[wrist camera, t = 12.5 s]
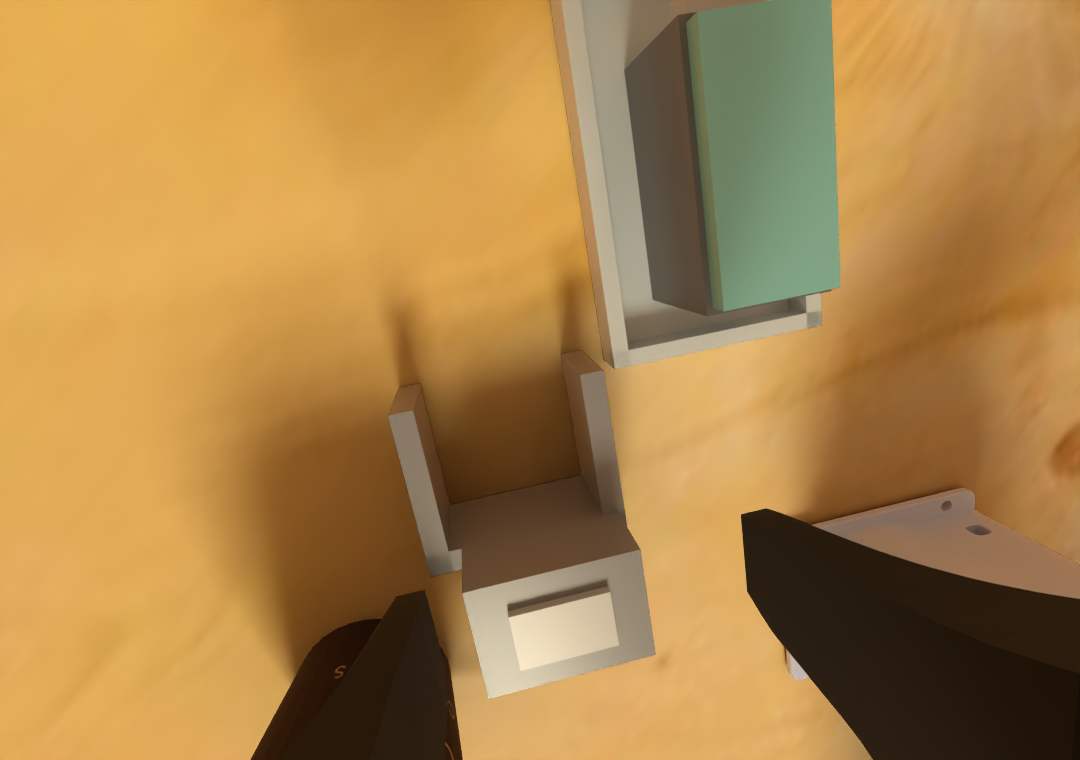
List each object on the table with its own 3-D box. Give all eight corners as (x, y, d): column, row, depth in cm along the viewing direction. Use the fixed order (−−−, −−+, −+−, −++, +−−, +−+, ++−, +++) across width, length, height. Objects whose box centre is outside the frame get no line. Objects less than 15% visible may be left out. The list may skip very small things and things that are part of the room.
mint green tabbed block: (731, 20, 19) (836, -65, 14) (751, 280, 21) (846, 292, 16) (620, 37, 19) (684, -43, 13) (652, 300, 21) (717, 319, 16)
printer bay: (580, 350, 22) (628, 392, 16) (613, 553, 24) (666, 659, 18) (398, 387, 21) (374, 447, 15) (451, 593, 23) (449, 716, 17)
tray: (777, -55, 19) (805, -80, 18) (797, 319, 23) (821, 325, 21) (546, -22, 18) (554, -46, 17) (603, 360, 22) (615, 369, 20)
